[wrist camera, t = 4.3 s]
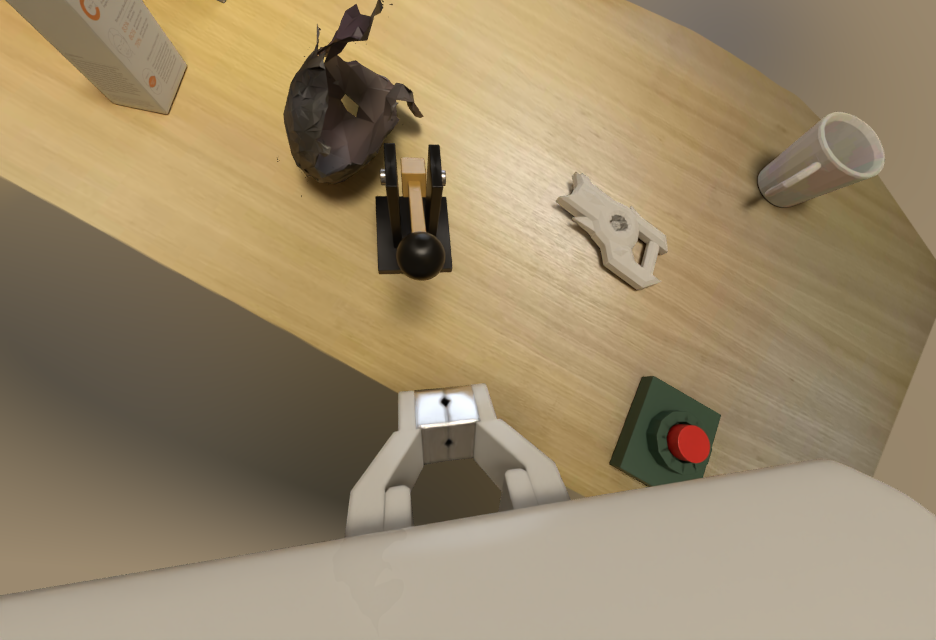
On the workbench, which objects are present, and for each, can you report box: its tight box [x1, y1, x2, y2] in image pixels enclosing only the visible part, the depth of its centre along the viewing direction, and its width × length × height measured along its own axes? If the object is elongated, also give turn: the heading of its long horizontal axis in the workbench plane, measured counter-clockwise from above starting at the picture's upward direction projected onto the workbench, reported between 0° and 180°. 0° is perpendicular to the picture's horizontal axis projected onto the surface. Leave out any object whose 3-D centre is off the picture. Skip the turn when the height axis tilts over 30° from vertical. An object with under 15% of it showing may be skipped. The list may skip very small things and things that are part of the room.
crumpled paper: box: [277, 0, 423, 197], centre depth 37 cm, size 14×15×20 cm
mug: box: [758, 112, 885, 207], centre depth 49 cm, size 10×15×10 cm
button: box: [667, 424, 710, 463], centre depth 38 cm, size 4×4×2 cm
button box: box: [610, 376, 721, 487], centre depth 40 cm, size 12×10×4 cm
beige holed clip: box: [556, 172, 668, 290], centre depth 46 cm, size 18×3×10 cm
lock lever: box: [396, 158, 445, 281], centre depth 28 cm, size 14×4×4 cm, turn 5°
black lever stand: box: [376, 143, 452, 274], centre depth 36 cm, size 10×9×14 cm
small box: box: [6, 0, 187, 114], centre depth 35 cm, size 8×6×13 cm
